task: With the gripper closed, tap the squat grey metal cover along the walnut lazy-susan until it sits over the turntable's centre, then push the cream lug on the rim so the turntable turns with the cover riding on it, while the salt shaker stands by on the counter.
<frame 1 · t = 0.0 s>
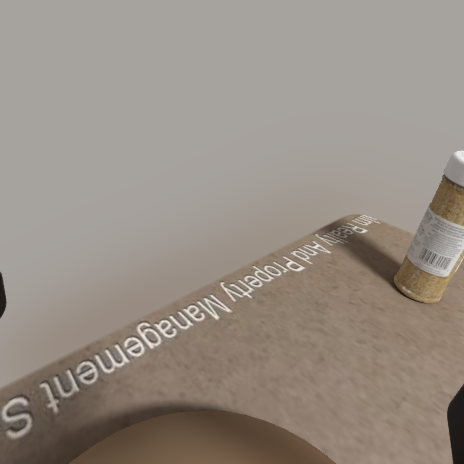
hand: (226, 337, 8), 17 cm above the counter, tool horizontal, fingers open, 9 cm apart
sprinkles bottle: (414, 290, 39), on the counter
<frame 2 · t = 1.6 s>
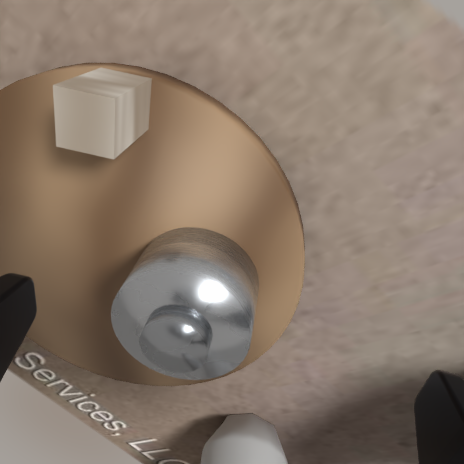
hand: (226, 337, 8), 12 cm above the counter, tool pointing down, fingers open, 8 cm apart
turntable: (111, 273, 19), point 3 cm above the counter, hinge at 0.0°, touching cover
salt shaker: (248, 429, 29), on the counter
cover: (198, 280, 20), point 2 cm above the counter, touching turntable
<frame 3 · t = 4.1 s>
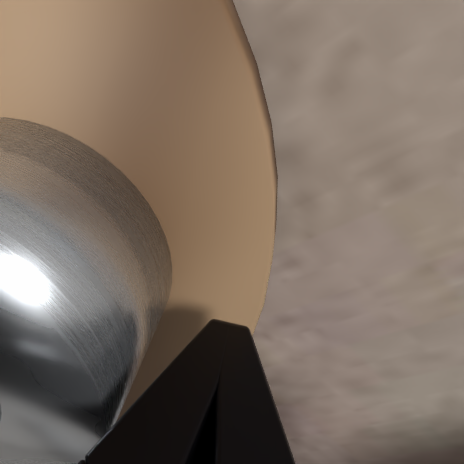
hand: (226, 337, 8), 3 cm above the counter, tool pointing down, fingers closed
cover: (40, 253, 9), point 2 cm above the counter, touching gripper, turntable
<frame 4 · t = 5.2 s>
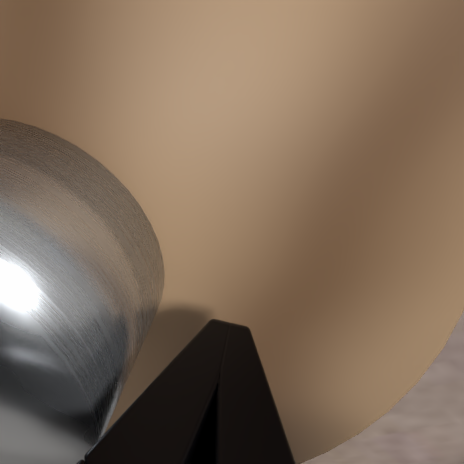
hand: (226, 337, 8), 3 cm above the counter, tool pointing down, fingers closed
turntable: (3, 284, 8), point 3 cm above the counter, hinge at -0.2°, touching cover
cover: (29, 255, 9), point 2 cm above the counter, touching gripper, turntable
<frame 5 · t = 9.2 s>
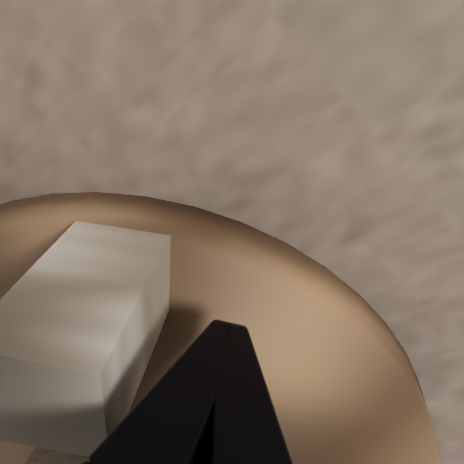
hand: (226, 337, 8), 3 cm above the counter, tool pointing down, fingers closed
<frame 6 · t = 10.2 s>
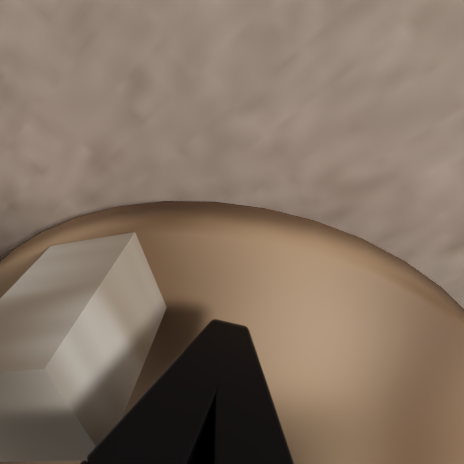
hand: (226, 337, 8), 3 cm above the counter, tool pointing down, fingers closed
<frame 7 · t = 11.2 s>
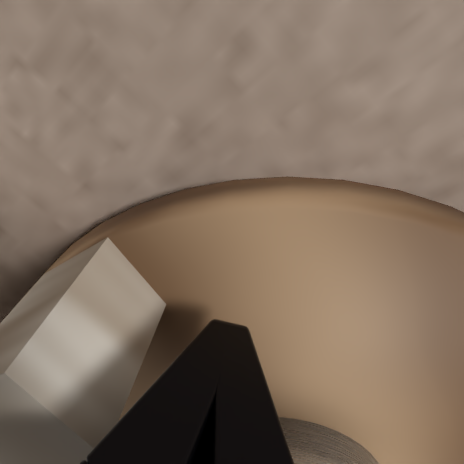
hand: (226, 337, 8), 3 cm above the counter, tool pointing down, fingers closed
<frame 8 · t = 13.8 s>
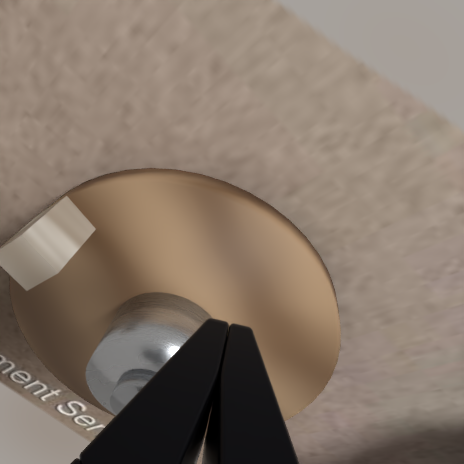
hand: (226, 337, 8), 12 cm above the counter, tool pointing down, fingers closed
turntable: (164, 348, 21), point 3 cm above the counter, hinge at 43.1°, touching cover
cover: (167, 335, 22), point 2 cm above the counter, touching turntable
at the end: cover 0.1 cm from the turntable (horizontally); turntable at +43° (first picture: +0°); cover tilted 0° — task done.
